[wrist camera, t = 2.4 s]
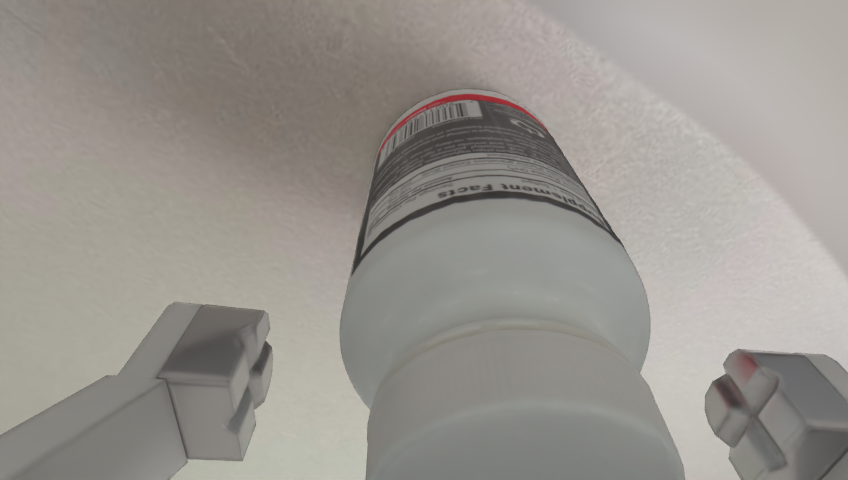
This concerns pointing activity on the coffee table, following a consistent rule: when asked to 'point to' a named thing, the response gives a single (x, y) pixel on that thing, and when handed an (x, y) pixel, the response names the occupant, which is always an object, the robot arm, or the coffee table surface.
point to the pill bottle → (495, 309)
